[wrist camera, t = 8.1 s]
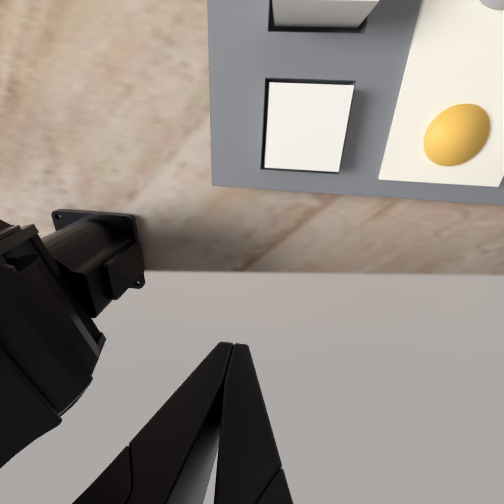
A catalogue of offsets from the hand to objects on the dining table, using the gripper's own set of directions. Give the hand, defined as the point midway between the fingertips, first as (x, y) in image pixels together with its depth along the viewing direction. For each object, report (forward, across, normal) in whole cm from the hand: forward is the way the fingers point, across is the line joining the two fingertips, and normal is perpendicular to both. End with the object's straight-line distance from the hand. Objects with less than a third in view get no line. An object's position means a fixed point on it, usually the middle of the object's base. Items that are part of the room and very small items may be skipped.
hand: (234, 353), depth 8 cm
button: (+12, -2, -6) cm, 14 cm away
